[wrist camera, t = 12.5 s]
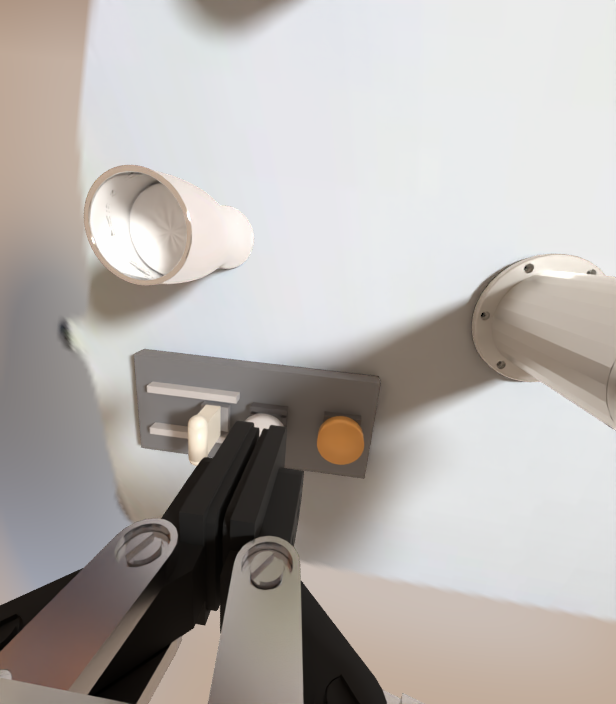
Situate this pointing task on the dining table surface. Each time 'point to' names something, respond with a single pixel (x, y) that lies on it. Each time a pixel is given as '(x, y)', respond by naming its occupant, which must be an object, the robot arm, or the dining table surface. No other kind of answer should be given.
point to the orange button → (340, 440)
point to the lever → (206, 429)
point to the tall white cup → (162, 228)
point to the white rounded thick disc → (263, 421)
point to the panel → (252, 402)
